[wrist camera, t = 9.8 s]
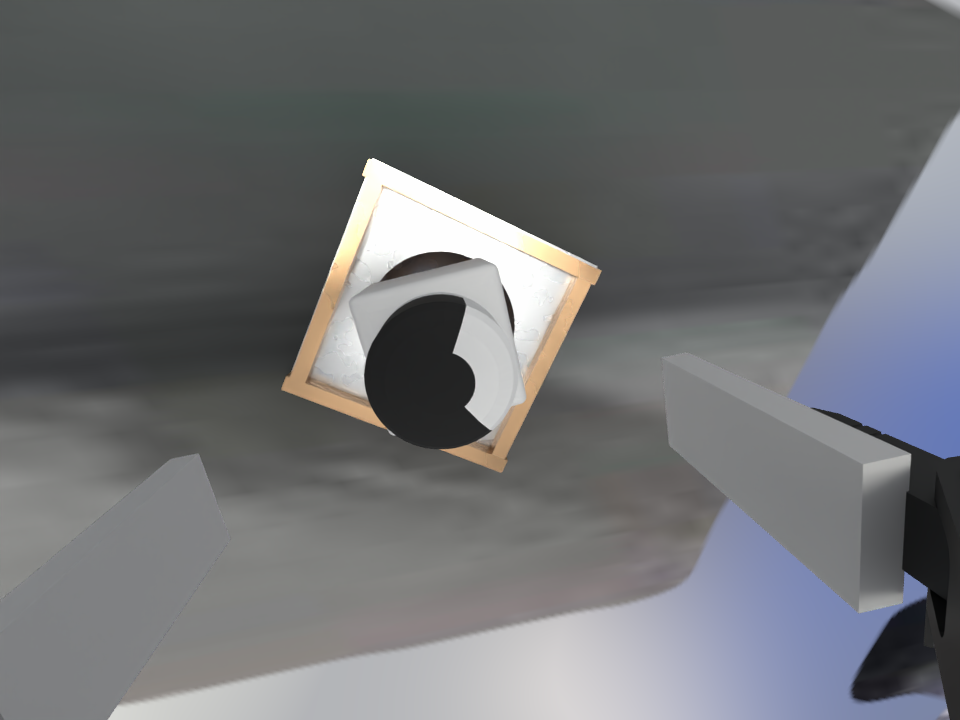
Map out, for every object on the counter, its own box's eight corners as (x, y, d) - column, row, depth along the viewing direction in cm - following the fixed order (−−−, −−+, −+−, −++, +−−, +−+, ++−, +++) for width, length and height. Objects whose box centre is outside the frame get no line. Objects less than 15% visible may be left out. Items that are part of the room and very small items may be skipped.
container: (400, 394, 33) (376, 489, 20) (367, 284, 31) (320, 315, 18) (508, 367, 33) (551, 445, 21) (483, 256, 31) (514, 267, 19)
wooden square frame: (290, 383, 33) (279, 393, 31) (374, 160, 30) (369, 154, 28) (496, 461, 36) (500, 475, 34) (592, 265, 33) (603, 267, 31)
